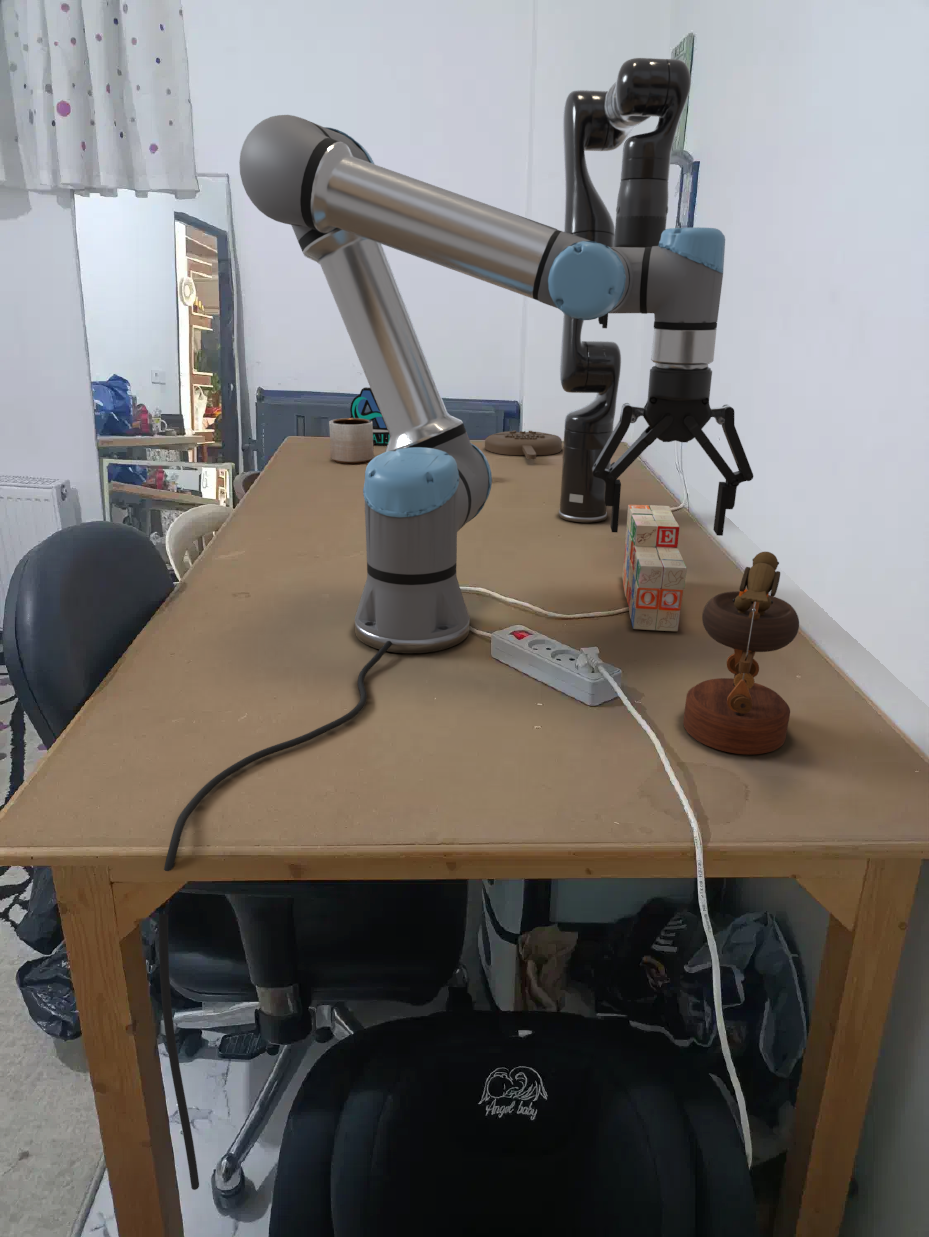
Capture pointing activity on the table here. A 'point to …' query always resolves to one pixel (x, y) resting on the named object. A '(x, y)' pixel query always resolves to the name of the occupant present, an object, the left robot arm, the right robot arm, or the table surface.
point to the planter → (351, 440)
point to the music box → (744, 666)
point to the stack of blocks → (653, 568)
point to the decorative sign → (370, 415)
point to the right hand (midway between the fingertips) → (631, 328)
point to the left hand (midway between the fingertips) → (665, 531)
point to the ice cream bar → (523, 443)
